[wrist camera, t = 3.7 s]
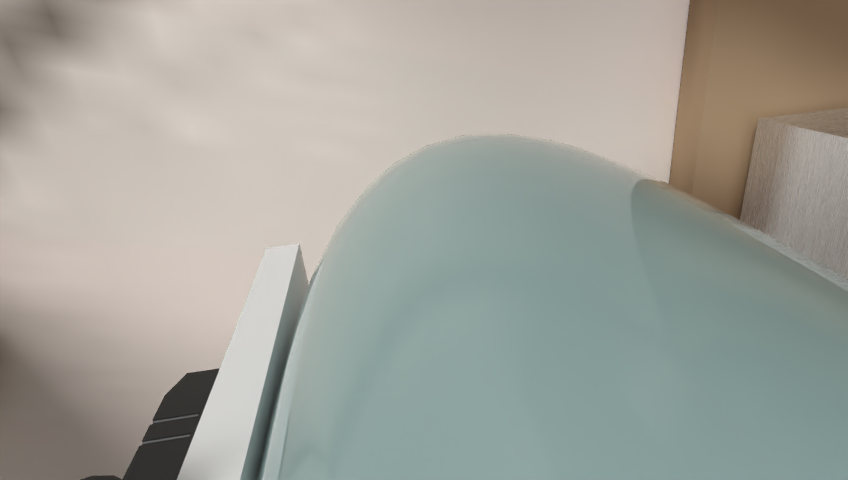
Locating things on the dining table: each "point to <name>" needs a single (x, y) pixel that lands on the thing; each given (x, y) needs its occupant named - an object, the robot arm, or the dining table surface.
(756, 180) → the bookend
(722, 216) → the cup
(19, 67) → the dining table surface
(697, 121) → the caddy
